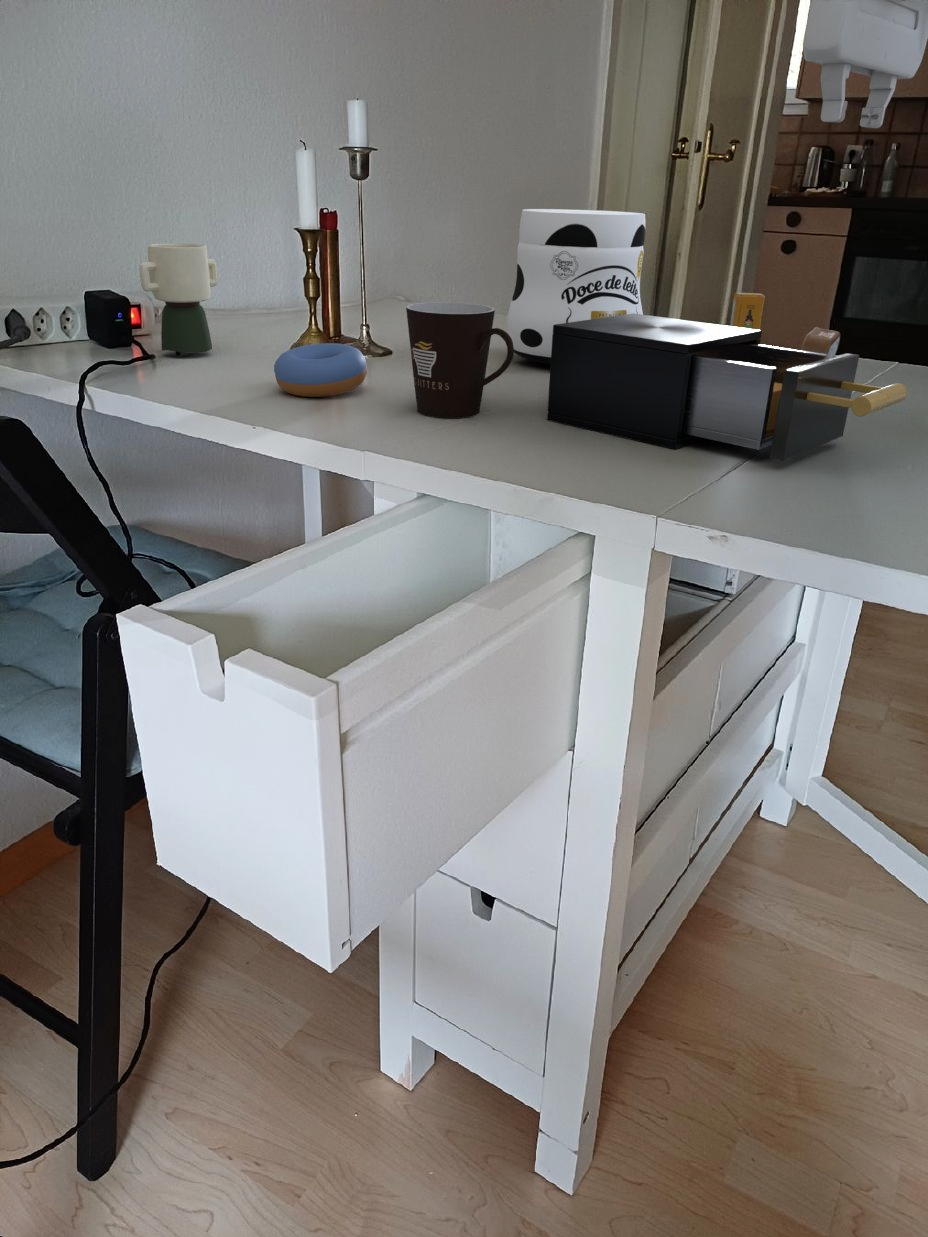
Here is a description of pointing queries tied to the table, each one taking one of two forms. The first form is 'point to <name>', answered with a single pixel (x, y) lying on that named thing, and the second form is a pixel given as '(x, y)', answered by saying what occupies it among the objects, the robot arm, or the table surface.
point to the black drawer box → (631, 374)
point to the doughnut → (320, 369)
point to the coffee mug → (452, 356)
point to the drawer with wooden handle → (809, 402)
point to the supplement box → (747, 310)
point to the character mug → (181, 293)
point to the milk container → (573, 273)
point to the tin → (821, 341)
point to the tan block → (774, 406)
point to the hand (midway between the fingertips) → (851, 125)
